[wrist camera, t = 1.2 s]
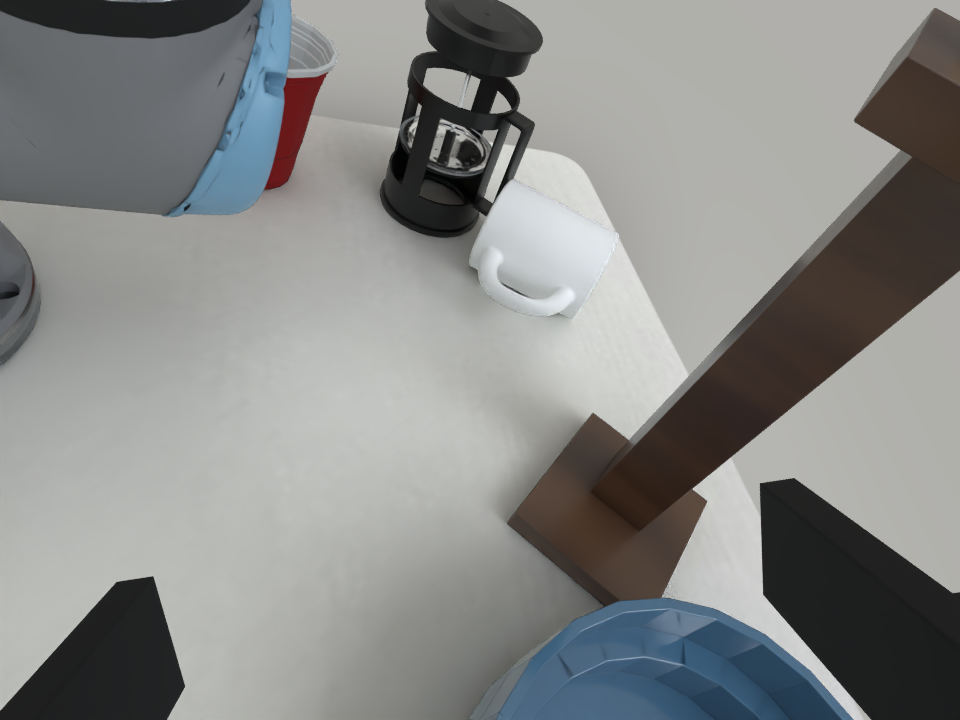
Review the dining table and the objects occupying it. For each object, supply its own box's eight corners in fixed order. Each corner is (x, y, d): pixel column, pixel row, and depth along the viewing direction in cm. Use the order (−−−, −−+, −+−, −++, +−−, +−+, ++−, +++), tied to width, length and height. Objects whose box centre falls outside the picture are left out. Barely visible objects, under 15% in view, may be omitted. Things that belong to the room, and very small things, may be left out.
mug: (492, 234, 57) (522, 162, 51) (586, 284, 56) (628, 217, 50) (439, 309, 48) (467, 233, 43) (549, 368, 48) (593, 300, 42)
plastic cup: (348, 182, 55) (370, 51, 46) (253, 226, 48) (258, 82, 39) (262, 118, 57) (267, -18, 48) (158, 152, 50) (143, -1, 41)
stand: (635, 632, 37) (1273, 266, 14) (506, 523, 38) (889, 48, 16) (695, 510, 44) (1182, 139, 21) (584, 422, 46) (923, -2, 23)
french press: (352, 190, 54) (408, -114, 37) (414, 156, 61) (485, -117, 44) (457, 263, 53) (564, -21, 36) (509, 220, 59) (622, -39, 42)
